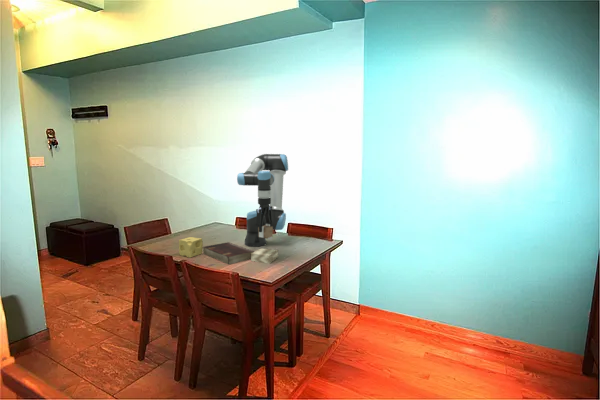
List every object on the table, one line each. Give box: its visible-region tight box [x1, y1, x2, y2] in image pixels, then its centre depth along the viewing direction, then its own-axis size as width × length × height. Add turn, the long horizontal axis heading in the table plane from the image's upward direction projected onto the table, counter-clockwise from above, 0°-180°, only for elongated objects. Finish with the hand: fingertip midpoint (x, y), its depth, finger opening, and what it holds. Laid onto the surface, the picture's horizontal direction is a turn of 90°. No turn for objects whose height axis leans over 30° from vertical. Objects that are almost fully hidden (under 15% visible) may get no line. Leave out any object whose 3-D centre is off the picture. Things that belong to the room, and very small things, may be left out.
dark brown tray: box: [202, 241, 256, 265], centre depth 218 cm, size 29×19×5 cm, turn 44°
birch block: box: [250, 248, 279, 264], centre depth 211 cm, size 12×12×5 cm
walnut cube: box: [258, 225, 274, 239], centre depth 208 cm, size 6×6×6 cm
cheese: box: [178, 236, 204, 259], centre depth 219 cm, size 10×11×10 cm
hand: (264, 235), depth 209 cm, fingers closed on walnut cube, 6 cm apart
